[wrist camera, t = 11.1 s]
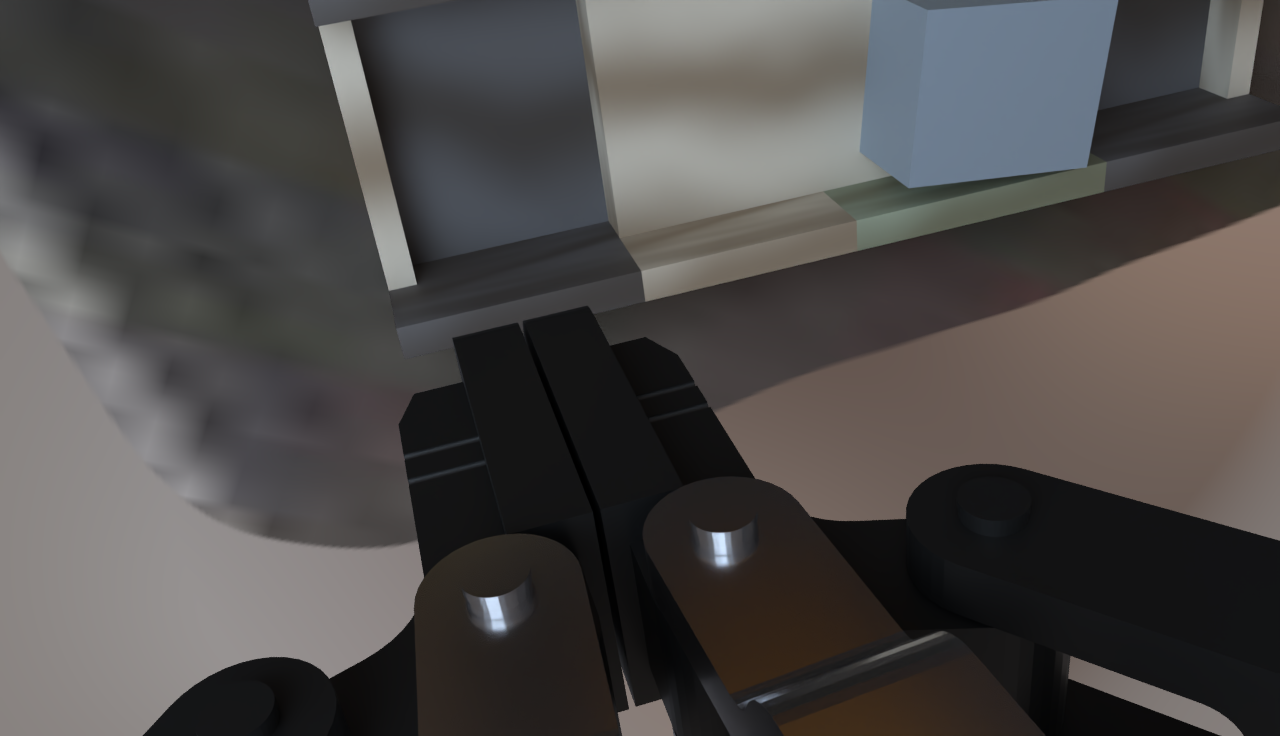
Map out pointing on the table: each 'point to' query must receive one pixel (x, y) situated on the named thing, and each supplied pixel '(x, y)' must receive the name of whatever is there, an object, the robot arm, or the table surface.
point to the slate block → (983, 87)
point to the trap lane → (699, 142)
